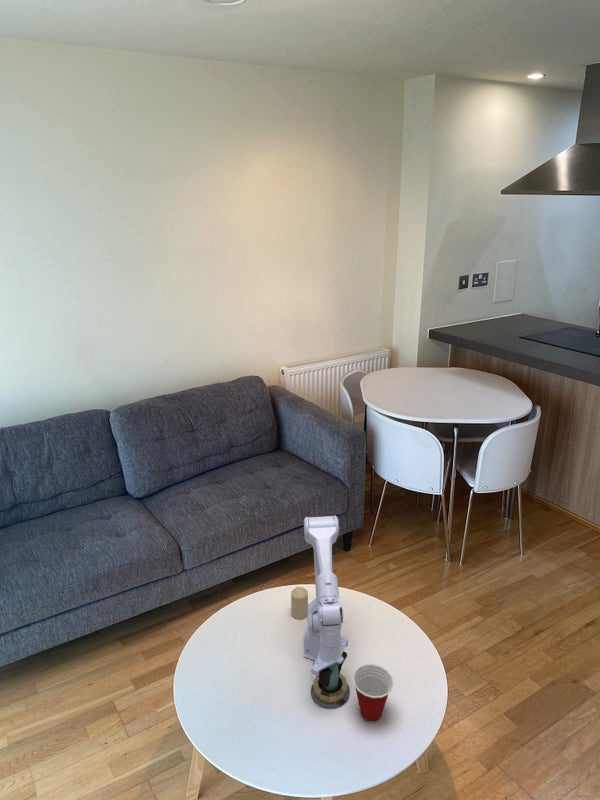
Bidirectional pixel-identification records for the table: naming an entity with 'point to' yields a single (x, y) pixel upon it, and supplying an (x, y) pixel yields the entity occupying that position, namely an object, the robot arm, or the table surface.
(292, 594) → the candle
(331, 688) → the peg
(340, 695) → the ring holder
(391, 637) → the table surface
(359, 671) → the plastic cup
